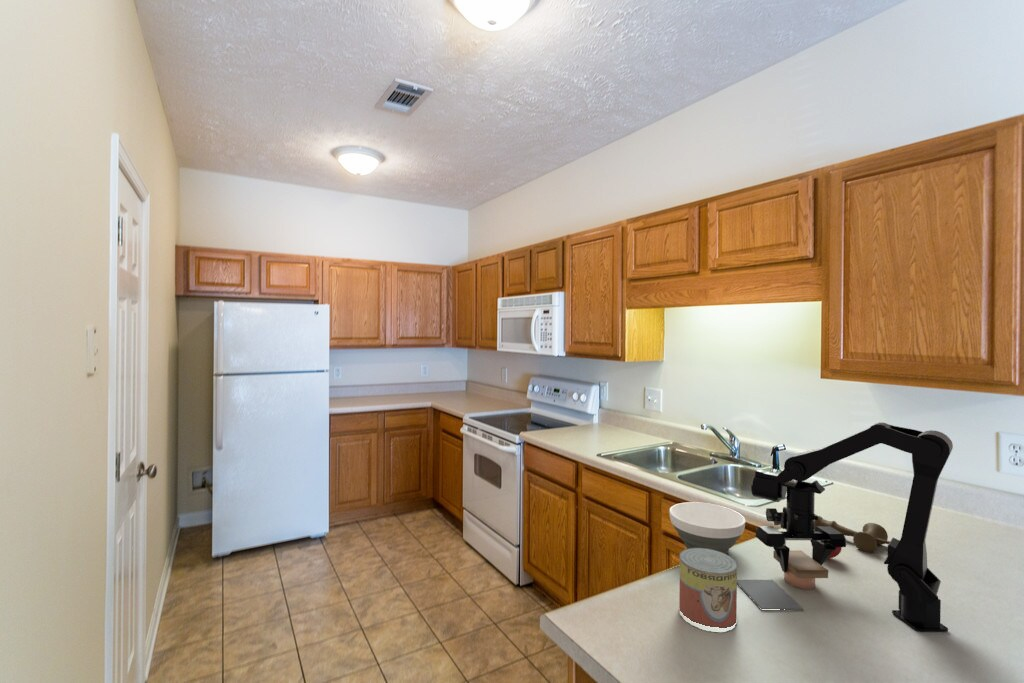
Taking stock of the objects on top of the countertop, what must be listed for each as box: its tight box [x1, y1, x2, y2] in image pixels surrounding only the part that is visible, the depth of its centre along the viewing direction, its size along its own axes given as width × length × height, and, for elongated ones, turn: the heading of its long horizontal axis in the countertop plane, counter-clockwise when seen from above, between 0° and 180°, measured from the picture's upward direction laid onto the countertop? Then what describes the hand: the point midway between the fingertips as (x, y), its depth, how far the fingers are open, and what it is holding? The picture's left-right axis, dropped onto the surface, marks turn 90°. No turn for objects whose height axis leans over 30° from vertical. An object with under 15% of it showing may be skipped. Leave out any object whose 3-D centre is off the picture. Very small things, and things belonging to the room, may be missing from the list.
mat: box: [737, 579, 804, 611], centre depth 108 cm, size 12×9×1 cm
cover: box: [773, 549, 829, 579], centre depth 114 cm, size 10×7×2 cm
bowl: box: [669, 501, 746, 555], centre depth 132 cm, size 20×20×10 cm
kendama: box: [814, 515, 891, 554], centre depth 136 cm, size 6×10×20 cm
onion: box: [826, 547, 843, 560], centre depth 126 cm, size 6×6×8 cm
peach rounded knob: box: [783, 569, 816, 590], centre depth 114 cm, size 6×6×4 cm
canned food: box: [678, 548, 738, 628], centre depth 100 cm, size 11×11×12 cm
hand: (799, 571), depth 114 cm, fingers closed on cover, 7 cm apart
